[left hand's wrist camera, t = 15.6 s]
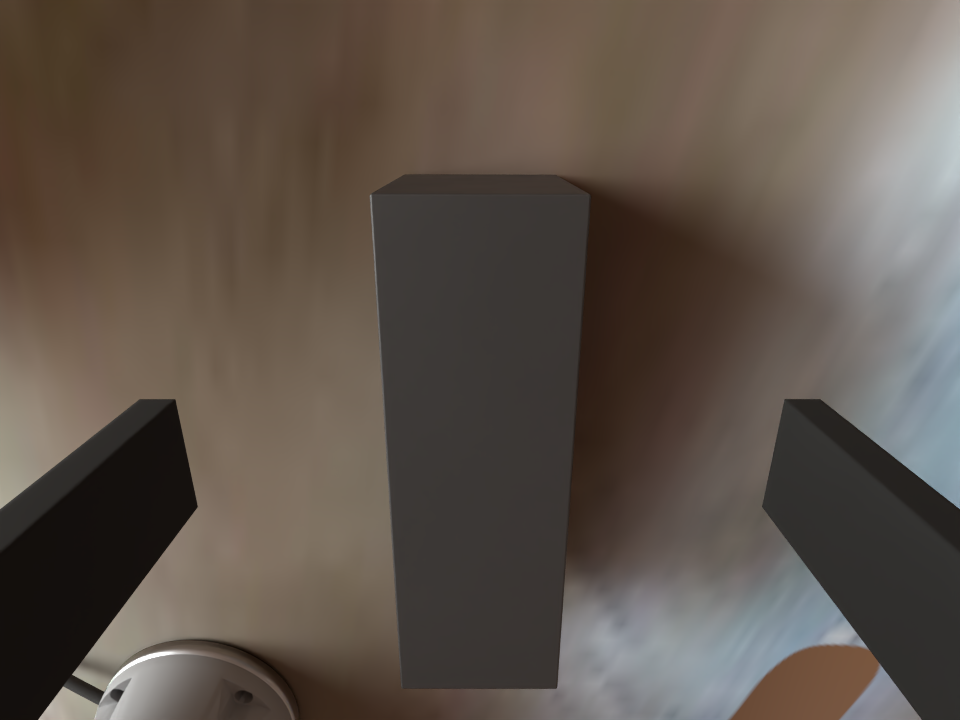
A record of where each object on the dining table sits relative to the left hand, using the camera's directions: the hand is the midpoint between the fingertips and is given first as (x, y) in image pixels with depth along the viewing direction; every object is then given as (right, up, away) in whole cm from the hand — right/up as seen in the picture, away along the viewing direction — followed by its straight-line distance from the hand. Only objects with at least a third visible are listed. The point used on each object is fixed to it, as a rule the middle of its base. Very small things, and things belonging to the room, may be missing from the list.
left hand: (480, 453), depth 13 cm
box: (0, 0, +25) cm, 25 cm away
